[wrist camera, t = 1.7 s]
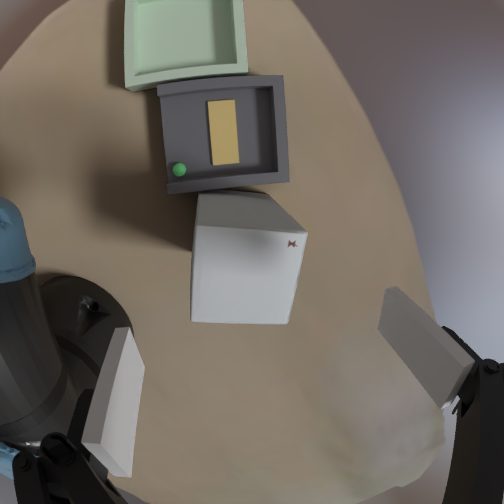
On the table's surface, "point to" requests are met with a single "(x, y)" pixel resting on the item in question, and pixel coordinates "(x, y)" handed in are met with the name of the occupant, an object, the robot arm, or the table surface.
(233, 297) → the supplement box
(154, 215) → the table surface
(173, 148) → the dark gray open-sided tray
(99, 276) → the table surface
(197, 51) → the trough tray
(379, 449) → the table surface
